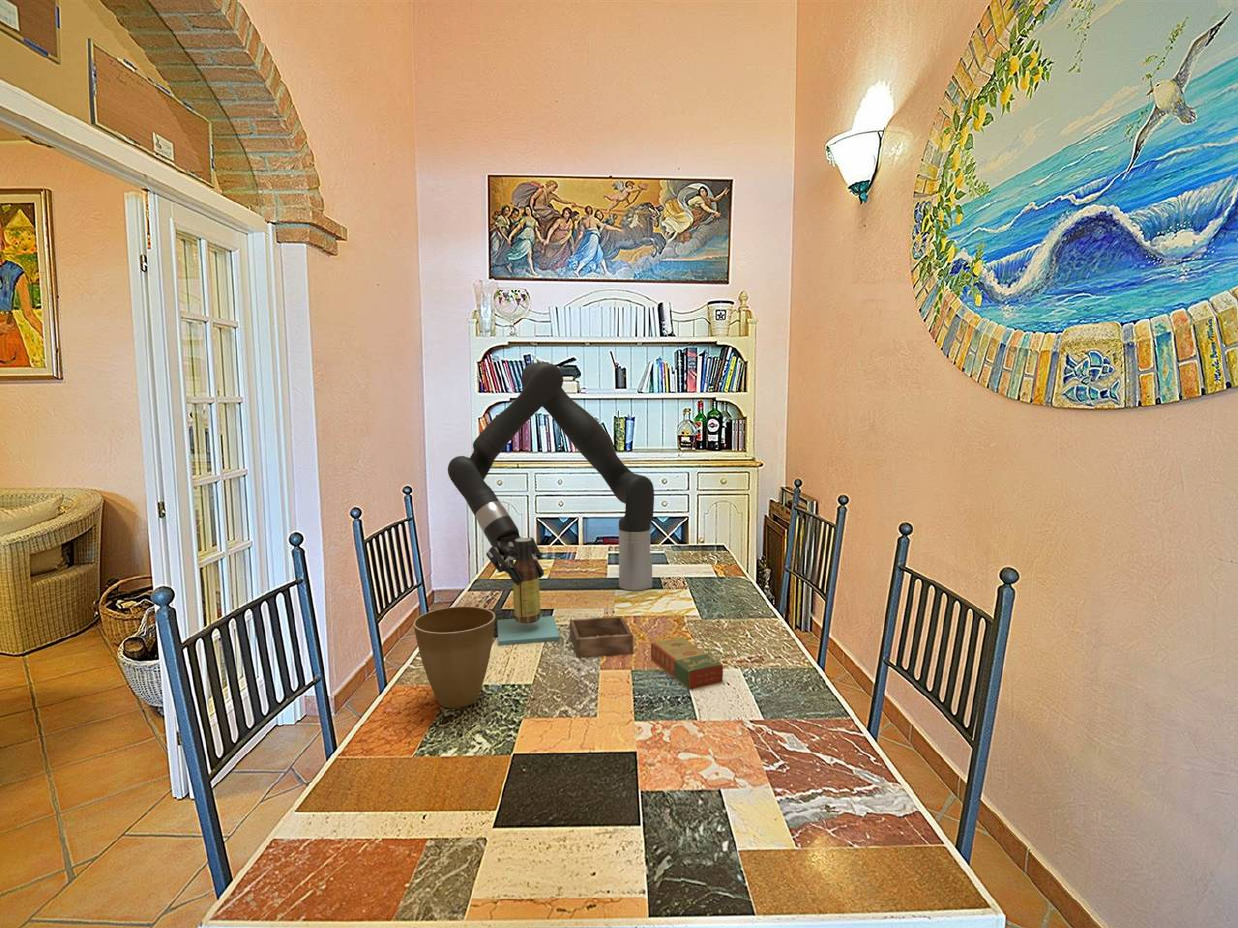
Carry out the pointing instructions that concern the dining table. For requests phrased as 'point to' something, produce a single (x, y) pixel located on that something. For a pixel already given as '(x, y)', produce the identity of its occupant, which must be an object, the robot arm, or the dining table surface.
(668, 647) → the carton
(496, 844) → the dining table surface
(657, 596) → the dining table surface
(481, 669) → the plant pot
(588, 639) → the frame
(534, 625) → the teal board
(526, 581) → the sauce bottle
